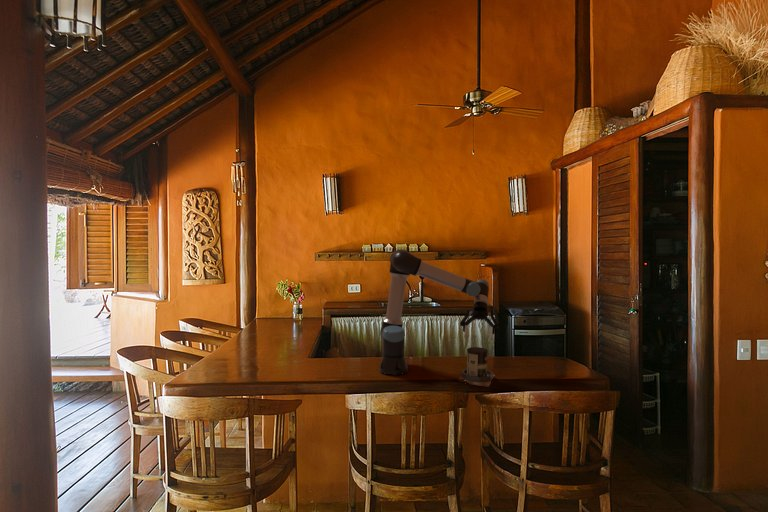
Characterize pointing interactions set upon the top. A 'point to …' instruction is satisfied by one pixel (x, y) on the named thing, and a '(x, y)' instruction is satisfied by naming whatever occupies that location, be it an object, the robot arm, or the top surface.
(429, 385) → the top surface
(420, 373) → the top surface
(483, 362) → the coffee can
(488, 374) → the collar board
